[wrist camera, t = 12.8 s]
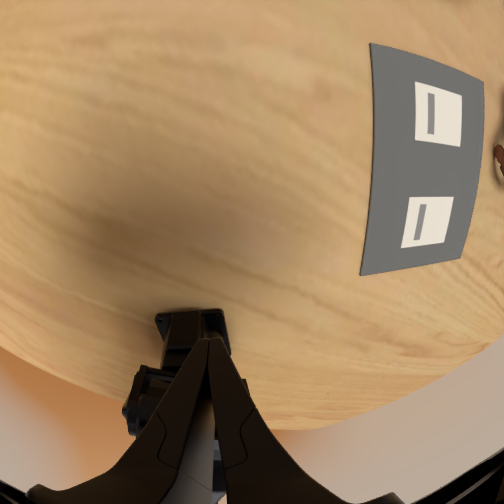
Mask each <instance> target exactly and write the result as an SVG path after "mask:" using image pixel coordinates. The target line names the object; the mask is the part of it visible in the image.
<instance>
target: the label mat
mask: <svg viewBox="0 0 504 504" xmlns="http://www.w3.org/2000/svg"><path fill="white" fill-rule="evenodd" d="M370 53H371V64H372V80H373V108H374V133H373V163H372V179H371V192H370V203H369V213H368V222H367V230H366V238H365V245H364V252H363V258H362V264H361V270H360V276H365V275H371V274H377V273H384V272H390V271H396V270H401V269H407V268H413V267H418V266H424V265H429V264H434V263H440V262H445V261H450V260H455V259H460V258H461V254H462V251H463V248H464V244H465V241H466V237H467V234H468V230H469V226H470V222H471V218H472V213H473V209H474V204H475V199H476V194H477V188H478V182H479V175H480V168H481V160H482V150H483V137H484V82H483V81H481V80H479V79H477V78H475V77H472V76H470V75H468V74H466V73H464V72H461V71H459V70H457V69H454V68H452V67H449V66H447V65H444V64H442V63H439V62H436V61H434V60H431V59H428V58H425V57H422V56H419V55H416V54H412V53H409V52H406V51H402V50H399V49H395V48H391V47H387V46H383V45H378V44H374V43H370Z"/></svg>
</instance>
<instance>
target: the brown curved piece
mask: <svg viewBox="0 0 504 504" xmlns="http://www.w3.org/2000/svg"><path fill="white" fill-rule="evenodd" d="M495 156H496V158H497V161H498V162H499V163H500V164H501V166H500V169H501V171H502V174H503V176H504V149H503V147H502V146H501V145H497V146H496V150H495Z"/></svg>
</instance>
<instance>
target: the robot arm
mask: <svg viewBox="0 0 504 504" xmlns="http://www.w3.org/2000/svg"><path fill="white" fill-rule="evenodd" d="M217 314H218V315H219V316H218V315H217ZM160 319H162V320H160ZM155 322H156V324H157V327H158V329H159V332H160V334H161V336H162V339H163V341H164V346H163V352H162V358H161V363H160V369H156V368H151V367H148V366H146V365H141V367H140V370H139V372H137V373H136V375H135V376H134V380H133V385H132V389H131V392H130V394H129V396H128V398H127V400H126V402H125V404H124V406H123V408H122V414H123V416H124V417H125V418H126V420H127V425H128V432H129V435H132V436H136V440H135V441H134V442H133V443H132V445H131V446H130V447H129V448H128V450H127V451H126V452H125V453H124V455H123V456H122V457H121V458H120V459H119V461H118V462H117V463H116V464H115V465H114V466H113V467H112V468H111V469H110V470H108V471H107V472H105V473H103V474H101V475H99V476H97V477H95V478H93V479H91V480H89V481H86V482H84V483H81V484H79V485H77V486H74V487H72V488H69V489H66V490H61V491H55V490H51V489H49V488H47V487H45V486H43V485H41V484H37V485H35V486H33V487H32V488H30V489H29V490H28V491H27V493H25V492H23V491H21V490H19V489H17V488H15V487H13V486H11V485H9V484H7V483H6V482H4V481H2V480H0V504H218V501H219V500H220V499H221V498H222V497H223V496H224V495H225V494H226V495H227V504H352V503H348V502H346V501H344V500H342V499H340V498H339V497H338V496H336V495H335V494H333V493H332V492H330V491H329V490H328V489H326V488H325V487H323V486H322V485H321V484H319V483H318V482H316V481H315V480H314V479H313V478H311V477H310V476H309V475H308V474H307V473H305V471H304V470H303V469H302V468H300V466H299V465H298V464H297V463H296V462H295V461H294V460H293V459H292V457H291V456H290V455H289V454H288V452H287V451H286V450H285V449H284V448H283V446H282V445H281V444H280V443H279V442H278V440H277V439H276V438H275V437H274V435H273V434H272V432H271V431H270V430H269V428H268V427H267V425H266V423H265V422H264V420H263V418H262V417H261V415H260V413H259V411H258V409H257V408H256V406H255V404H254V402H253V400H252V398H251V396H250V393H249V389H248V386H247V382H246V379H241V377H240V375H239V373H238V371H237V369H236V367H235V365H234V363H233V361H232V359H231V357H230V355H231V348H230V343H229V338H228V333H227V328H226V323H225V318H224V313H223V311H222V310H218V309H217V310H206V311H194V312H181V313H166V314H157V315H156V317H155ZM360 504H404V503H403V501H402V500H400V498H399V497H398V496H396V494H395V493H393V492H391V493H388V494H386V495H383V496H381V497H378V498H376V499H373V500H370V501H367V502H364V503H360ZM411 504H504V448H502V449H500V450H499V451H498V452H496V453H495V454H493V455H492V456H490V457H488V458H487V459H485V460H484V461H482V462H480V463H479V464H478V465H476V466H474V467H473V468H471V469H469V470H468V471H466V472H465V473H463V474H462V475H460V476H458V477H457V478H455V479H454V480H452V481H451V482H449V483H448V484H446V485H444V486H443V487H441V488H439V489H437V490H436V491H434V492H432V493H430V494H428V495H427V496H425V497H423V498H421V499H419V500H417V501H415V502H413V503H411Z"/></svg>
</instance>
